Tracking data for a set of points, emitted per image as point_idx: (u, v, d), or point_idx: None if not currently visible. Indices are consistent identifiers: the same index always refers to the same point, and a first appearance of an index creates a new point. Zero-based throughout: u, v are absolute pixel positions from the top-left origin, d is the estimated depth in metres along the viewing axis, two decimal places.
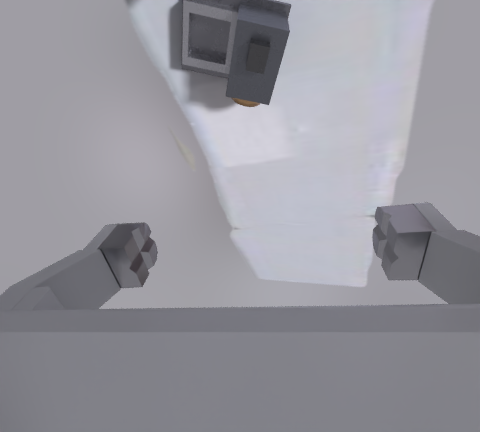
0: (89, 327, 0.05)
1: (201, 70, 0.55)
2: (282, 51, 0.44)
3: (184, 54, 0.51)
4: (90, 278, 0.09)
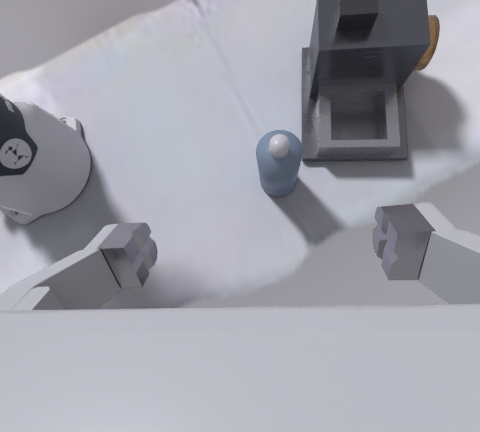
0: (89, 327, 0.05)
1: (402, 130, 0.38)
2: None
3: (384, 143, 0.36)
4: (90, 278, 0.09)
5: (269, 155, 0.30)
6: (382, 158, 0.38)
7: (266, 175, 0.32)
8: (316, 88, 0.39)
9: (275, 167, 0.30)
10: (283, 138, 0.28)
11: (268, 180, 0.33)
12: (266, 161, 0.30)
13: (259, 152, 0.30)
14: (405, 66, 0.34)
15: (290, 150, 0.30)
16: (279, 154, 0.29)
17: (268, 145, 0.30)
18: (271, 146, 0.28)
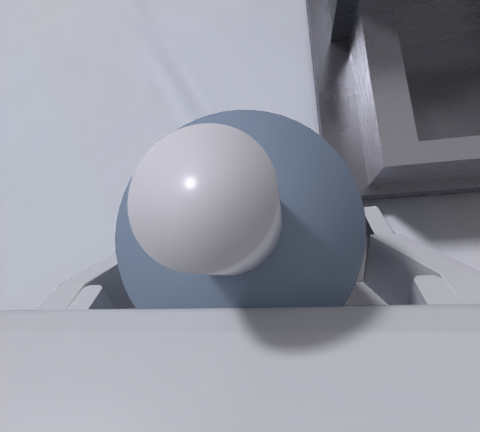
0: (90, 327, 0.05)
1: None
2: None
3: None
4: None
5: None
6: None
7: None
8: (350, 7, 0.14)
9: None
10: (230, 152, 0.04)
11: None
12: (165, 286, 0.05)
13: (129, 234, 0.06)
14: None
15: (293, 215, 0.05)
16: (213, 273, 0.04)
17: None
18: (140, 224, 0.04)
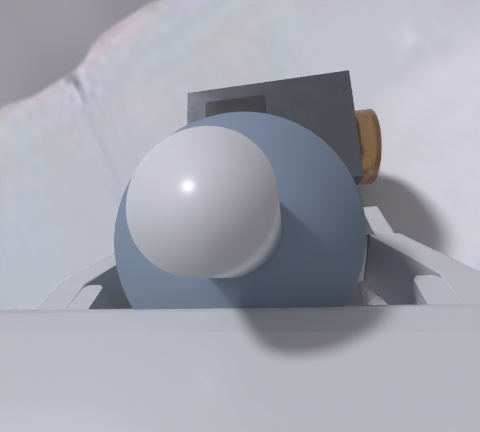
0: (89, 327, 0.05)
1: None
2: (223, 90, 0.21)
3: None
4: None
5: None
6: None
7: None
8: None
9: None
10: (229, 156, 0.04)
11: None
12: (164, 288, 0.05)
13: (129, 236, 0.06)
14: None
15: (293, 217, 0.05)
16: (212, 277, 0.04)
17: None
18: (138, 228, 0.04)
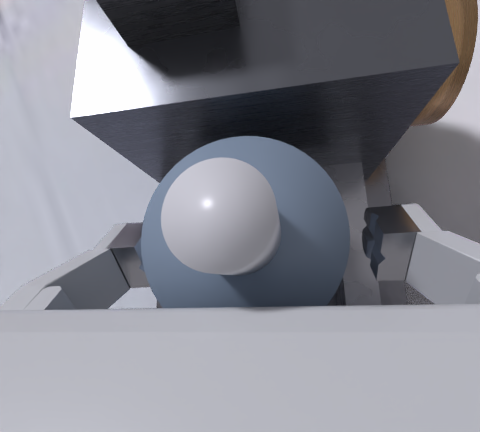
0: (89, 327, 0.05)
1: None
2: None
3: None
4: (100, 278, 0.09)
5: None
6: None
7: None
8: None
9: None
10: (240, 181, 0.05)
11: None
12: (184, 284, 0.07)
13: (153, 241, 0.07)
14: (377, 130, 0.11)
15: (290, 225, 0.06)
16: (227, 273, 0.05)
17: None
18: (171, 236, 0.05)
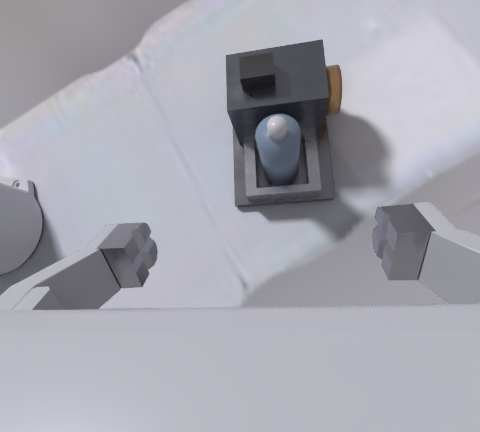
0: (89, 327, 0.05)
1: (328, 171, 0.39)
2: (248, 53, 0.35)
3: (306, 188, 0.37)
4: (90, 278, 0.09)
5: (268, 138, 0.31)
6: (310, 200, 0.39)
7: (267, 159, 0.32)
8: (242, 137, 0.40)
9: (275, 149, 0.30)
10: (280, 119, 0.29)
11: (270, 165, 0.34)
12: (266, 144, 0.31)
13: (258, 137, 0.31)
14: (316, 115, 0.35)
15: (288, 131, 0.31)
16: (277, 135, 0.29)
17: (266, 129, 0.31)
18: (269, 128, 0.29)
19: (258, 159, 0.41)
